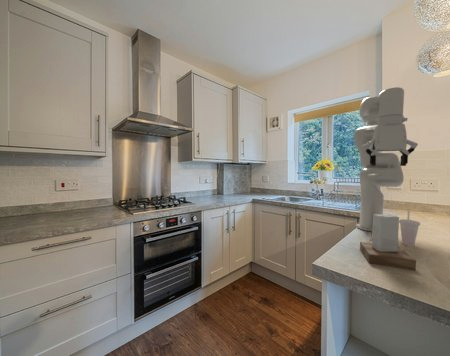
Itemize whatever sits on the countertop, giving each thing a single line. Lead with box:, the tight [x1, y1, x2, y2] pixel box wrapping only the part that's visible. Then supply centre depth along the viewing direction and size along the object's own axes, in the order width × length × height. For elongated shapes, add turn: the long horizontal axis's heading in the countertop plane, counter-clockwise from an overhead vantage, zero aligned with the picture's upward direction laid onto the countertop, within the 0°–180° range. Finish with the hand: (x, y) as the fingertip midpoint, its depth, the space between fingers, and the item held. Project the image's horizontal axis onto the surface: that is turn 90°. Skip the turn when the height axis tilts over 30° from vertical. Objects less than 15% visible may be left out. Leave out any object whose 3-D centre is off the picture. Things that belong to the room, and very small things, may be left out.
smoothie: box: [399, 210, 421, 247], centre depth 83 cm, size 6×6×14 cm
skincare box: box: [371, 214, 400, 252], centre depth 70 cm, size 6×4×12 cm
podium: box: [359, 241, 417, 271], centre depth 70 cm, size 12×12×3 cm
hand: (387, 165), depth 80 cm, fingers open, 9 cm apart
